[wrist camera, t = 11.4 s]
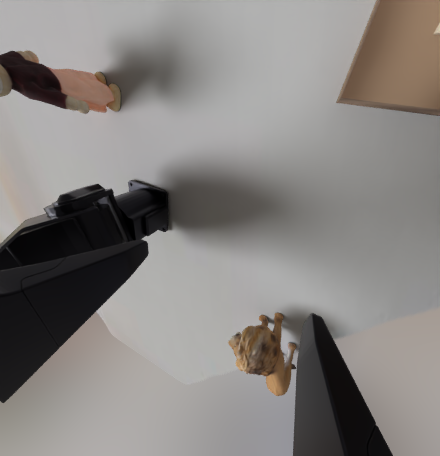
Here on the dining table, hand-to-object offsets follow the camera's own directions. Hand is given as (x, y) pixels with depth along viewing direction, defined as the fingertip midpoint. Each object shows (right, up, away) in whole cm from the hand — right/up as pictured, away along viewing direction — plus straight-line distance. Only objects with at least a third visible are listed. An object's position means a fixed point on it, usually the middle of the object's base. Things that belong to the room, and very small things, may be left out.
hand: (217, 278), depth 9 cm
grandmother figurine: (-13, +18, +13) cm, 26 cm away
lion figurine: (+9, -13, +19) cm, 25 cm away
